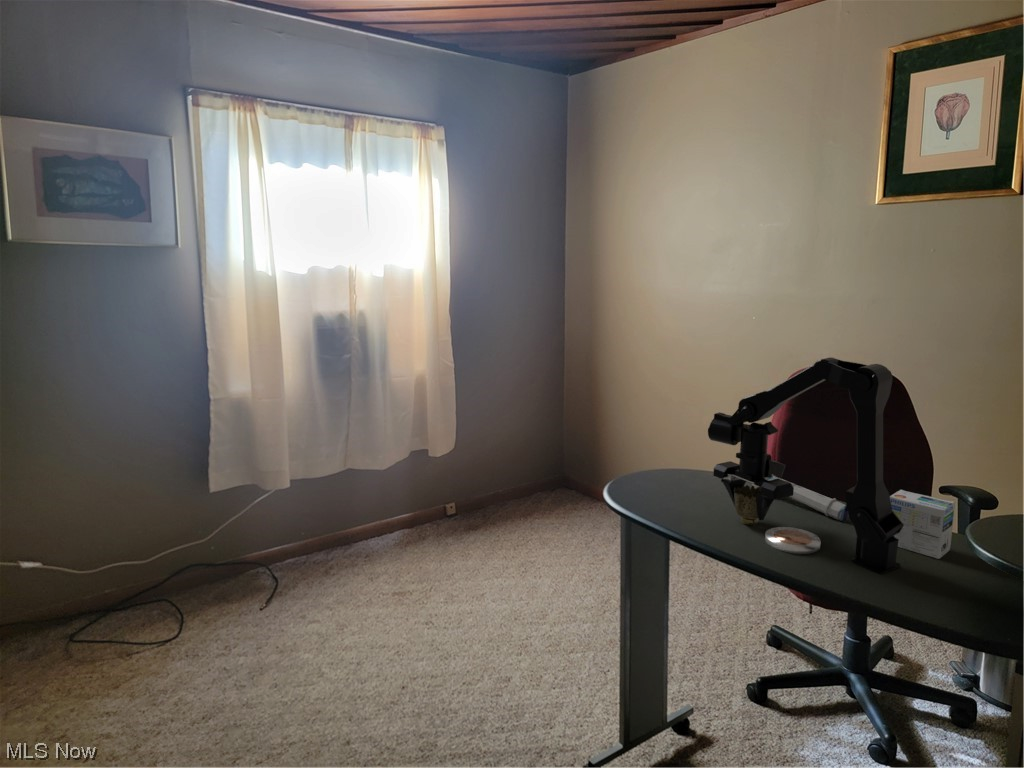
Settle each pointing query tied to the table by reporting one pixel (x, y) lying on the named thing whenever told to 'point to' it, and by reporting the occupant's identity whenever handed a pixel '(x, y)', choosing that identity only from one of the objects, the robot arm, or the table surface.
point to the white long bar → (817, 501)
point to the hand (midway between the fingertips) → (749, 514)
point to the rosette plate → (792, 540)
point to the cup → (747, 504)
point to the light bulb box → (923, 523)
